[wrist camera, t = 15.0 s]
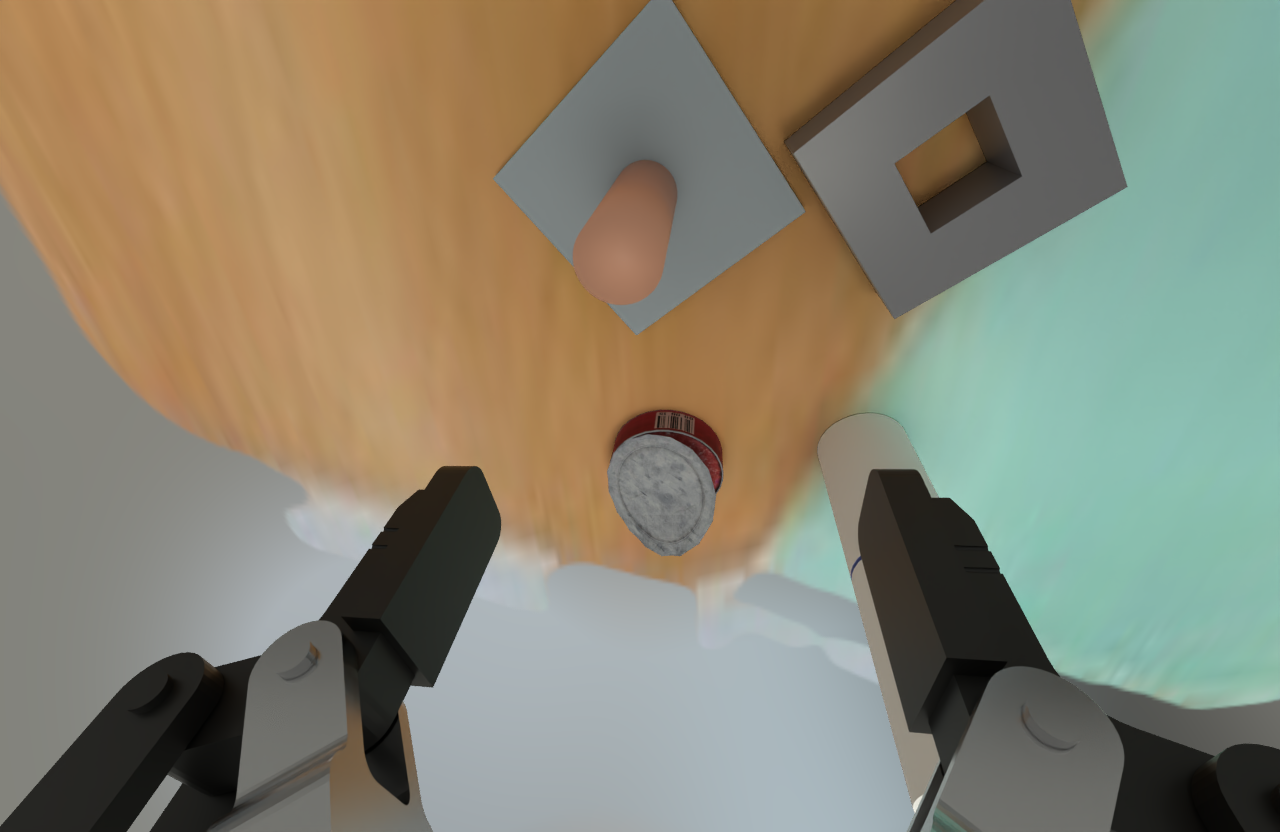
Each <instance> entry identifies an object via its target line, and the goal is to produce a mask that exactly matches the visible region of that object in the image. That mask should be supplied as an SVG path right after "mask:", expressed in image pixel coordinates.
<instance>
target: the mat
mask: <svg viewBox="0 0 1280 832" xmlns="http://www.w3.org/2000/svg"><path fill="white" fill-rule="evenodd" d="M639 160H651V161H655V162H658V163H660V164H661V165H663V166H664V167H665V168H666V169H668V171H669V172H670V173H671V175H672V176H673V178H674V180H675V183H676V186H677V203H676V208H675V213H674V218H673V223H672V228H671V233H670V239H669V244H668V249H667V254H666V259H665V264H664V269H663V274H662V277H661V279H660V282H659V284H658V285H657V287H656V288H655V289H654V291H653V292H652V293H651V294H650V295H648V296H647V297H646V298H644V299H643V300H641V301H639V302H636V303H633V304H628V305H614V304H609V303H607V304H608V305H609V306H610V307H611V308H612V309H613V310H614V311H615V313H616V314H617V315H618V316H619V317H620V318H621V319H622V320H623V321H624V322H625V323H626V325H627V326H628V327H629V328H630V329H631V330H632V331H633V332H634V333H635V334H636V335H638V334H639V333H640V332H642V331H643V330H645V329H646V328H647V327H649V326H650V325H651V324H653V323H654V322H656V321H657V320H658V319H660V318H661V317H662V316H664V315H665V314H666V313H668V312H669V311H671V310H672V309H673V308H675V307H676V306H677V305H679V304H680V303H681V302H683V301H684V300H686V299H687V298H688V297H690V296H691V295H692V294H694V293H695V292H697V291H698V290H699V289H701V288H702V287H703V286H705V285H706V284H707V283H709V282H710V281H712V280H713V279H714V278H716V277H717V276H718V275H720V274H721V273H723V272H724V271H725V270H727V269H728V268H729V267H731V266H732V265H733V264H735V263H736V262H738V261H739V260H740V259H742V258H743V257H744V256H746V255H747V254H748V253H750V252H751V251H753V250H754V249H755V248H757V247H758V246H759V245H761V244H762V243H764V242H765V241H766V240H768V239H769V238H770V237H772V236H773V235H774V234H776V233H777V232H779V231H780V230H781V229H783V228H784V227H785V226H787V225H788V224H790V223H791V222H792V221H794V220H795V219H796V218H798V217H799V216H800V215H802V214H803V213H805V212H806V211H805V210H804V208H803V206H802V205H801V203H800V202H799V200H798V199H797V197H796V195H795V194H794V192H793V191H792V189H791V187H790V186H789V184H788V183H787V181H786V180H785V178H784V176H783V175H782V173H781V172H780V170H779V169H778V167H777V165H776V164H775V162H774V161H773V159H772V157H771V156H770V154H769V153H768V151H767V150H766V148H765V146H764V145H763V143H762V142H761V140H760V139H759V137H758V135H757V134H756V132H755V131H754V129H753V127H752V126H751V124H750V123H749V121H748V120H747V118H746V116H745V115H744V113H743V112H742V110H741V109H740V107H739V105H738V104H737V102H736V101H735V99H734V97H733V96H732V94H731V93H730V91H729V90H728V88H727V86H726V85H725V83H724V82H723V80H722V79H721V77H720V75H719V74H718V72H717V71H716V69H715V67H714V66H713V64H712V63H711V61H710V60H709V58H708V56H707V55H706V53H705V52H704V50H703V48H702V47H701V45H700V44H699V42H698V41H697V39H696V37H695V36H694V34H693V33H692V31H691V30H690V28H689V26H688V25H687V23H686V22H685V20H684V18H683V17H682V15H681V14H680V12H679V11H678V9H677V7H676V6H675V4H674V3H673V1H672V0H651V1H650V2H649V3H648V4H647V5H646V6H645V7H644V9H643V10H642V11H641V12H640V13H639V14H638V15H637V16H636V18H635V19H634V20H633V21H632V22H631V23H630V24H629V26H628V27H627V28H626V29H625V30H624V31H623V32H622V33H621V35H620V36H619V37H618V38H617V39H616V40H615V41H614V42H613V44H612V45H611V46H610V47H609V48H608V49H607V50H606V52H605V53H604V54H603V55H602V56H601V57H600V58H599V59H598V61H597V62H596V63H595V64H594V65H593V66H592V67H591V69H590V70H589V71H588V72H587V73H586V74H585V75H584V76H583V78H582V79H581V80H580V81H579V82H578V83H577V84H576V85H575V87H574V88H573V89H572V90H571V91H570V92H569V93H568V95H567V96H566V97H565V98H564V99H563V100H562V101H561V102H560V104H559V105H558V106H557V107H556V108H555V109H554V110H553V112H552V113H551V114H550V115H549V116H548V117H547V118H546V119H545V121H544V122H543V123H542V124H541V125H540V126H539V127H538V128H537V130H536V131H535V132H534V133H533V134H532V135H531V136H530V138H529V139H528V140H527V141H526V142H525V143H524V144H523V145H522V147H521V148H520V149H519V150H518V151H517V152H516V153H515V154H514V156H513V157H512V158H511V159H510V160H509V161H508V162H507V164H506V165H505V166H504V167H503V168H502V169H501V170H500V171H499V173H498V174H497V175H496V176H495V177H494V178H493V179H494V180H495V182H496V183H497V184H498V185H499V186H500V187H501V188H502V189H503V190H504V191H505V192H506V194H507V195H508V196H509V197H510V198H511V199H512V200H513V201H514V202H515V203H516V204H517V206H518V207H519V208H520V209H521V210H522V211H523V212H524V213H525V214H526V215H527V217H528V218H529V219H530V220H531V221H532V222H533V223H534V224H535V225H536V226H537V227H538V229H539V230H540V231H541V232H542V233H543V234H544V235H545V236H546V237H547V238H548V239H549V241H550V242H551V243H552V244H553V245H554V246H555V247H556V248H557V249H558V250H559V251H560V253H561V254H562V255H563V256H564V257H565V258H566V259H567V260H568V261H569V262H570V263H571V265H572V266H573V267H574V265H573V248H574V244H575V241H576V238H577V236H578V234H579V233H580V231H581V230H582V229H583V227H584V226H585V224H586V223H587V221H588V220H589V218H590V217H591V215H592V214H593V212H594V211H595V210H596V208H597V207H598V205H599V204H600V202H601V201H602V199H603V198H604V196H605V195H606V193H607V192H608V191H609V189H610V188H611V186H612V185H613V183H614V182H615V180H616V179H617V177H618V176H619V175H620V173H621V172H622V170H623V169H624V168H625V167H627V166H628V165H629V164H631V163H633V162H635V161H639Z"/></svg>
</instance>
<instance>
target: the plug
mask: <svg viewBox="0 0 1280 832" xmlns="http://www.w3.org/2000/svg"><path fill="white" fill-rule="evenodd" d="M676 203H677V186H676V183H675V180H674V178H673V176H672V175H671V173H670V172H669V171H668V169H666V168H665V167H664V166H663V165H661V164H660V163H658V162H655V161H651V160H639V161H635V162H633V163H631V164H629V165H628V166H627V167H625V168H624V169H623V170H622V172H621V173H620V175H619V176H618V177H617V179H616V180H615V182H614V183H613V185H612V186H611V188H610V189H609V191H608V192H607V193H606V195H605V196H604V198H603V199H602V201H601V202H600V204H599V205H598V207H597V208H596V210H595V211H594V212H593V214H592V215H591V217H590V218H589V220H588V221H587V223H586V224H585V226H584V227H583V229H582V230H581V231H580V233H579V234H578V236H577V238H576V241H575V244H574V248H573V265H574V269H575V272H576V275H577V277H578V279H579V281H580V282H581V284H582V285H583V287H584V288H585V289H586V290H587V291H588V292H589V293H590V294H591V295H593V296H594V297H596V298H597V299H599V300H601V301H603V302H606V303H609V304H614V305H628V304H633V303H636V302H639V301H641V300H643V299H644V298H646V297H647V296H648V295H650V294H651V293H652V292H653V291H654V289H655V288H656V287H657V285H658V284H659V282H660V279H661V277H662V274H663V269H664V264H665V259H666V254H667V249H668V244H669V239H670V233H671V228H672V223H673V218H674V213H675V208H676Z"/></svg>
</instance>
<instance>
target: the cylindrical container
mask: <svg viewBox="0 0 1280 832" xmlns="http://www.w3.org/2000/svg"><path fill="white" fill-rule="evenodd" d="M817 454H818V458H819V461H820V465H821V469H822V473H823V476H824V480H825V484H826V488H827V491H828V495H829V499H830V503H831V506H832V510H833V514H834V517H835V521H836V525H837V528H838V532H839V536H840V540H841V543H842V547H843V551H844V554H845V558H846V562H847V565H848V569H849V573H850V576H851V580H852V584H853V588H854V591H855V595H856V599H857V603H858V606H859V610H860V614H861V617H862V621H863V625H864V628H865V632H866V636H867V640H868V644H869V647H870V651H871V655H872V658H873V662H874V666H875V670H876V673H877V677H878V681H879V685H880V688H881V692H882V696H883V699H884V703H885V706H886V710H887V714H888V718H889V722H890V725H891V729H892V732H893V736H894V740H895V744H896V747H897V751H898V755H899V758H900V762H901V766H902V770H903V773H904V777H905V781H906V784H907V788H908V792H909V795H910V798H911V803H912V806H913V810H914V812H916V810H917V808H918V805H919V803H920V801H921V799H922V796H923V794H924V792H925V790H926V787H927V785H928V783H929V781H930V778H931V776H932V774H933V772H934V769H935V767H936V765H937V763H938V761H939V759H940V758H939V755H938V751H937V748H936V745H935V742H934V738H933V735H932V734H924V733H913V732H909V730H908V726H907V722H906V719H905V715H904V712H903V708H902V704H901V701H900V697H899V693H898V690H897V686H896V682H895V679H894V675H893V671H892V668H891V664H890V661H889V657H888V653H887V650H886V646H885V642H884V639H883V635H882V631H881V628H880V624H879V621H878V617H877V613H876V610H875V606H874V602H873V599H872V595H871V591H870V588H869V584H868V580H867V577H866V573H865V570H864V566H863V562H862V559H861V555H860V550H859V544H858V523H859V518H860V513H861V509H862V504H863V499H864V495H865V490H866V486H867V481H868V477H869V474H870V472H871V470H872V469H915V470H917V471H918V472H919V473H920V474H921V476H922V478H923V480H924V483H925V485H926V487H927V489H928V491H929V493H930V496H931V498H939V496H938V494H937V493H936V491H935V489H934V487H933V485H932V483H931V481H930V479H929V477H928V475H927V473H926V471H925V469H924V467H923V465H922V463H921V461H920V459H919V458H918V456H917V454H916V452H915V450H914V448H913V446H912V444H911V442H910V440H909V438H908V436H907V434H906V432H905V430H904V428H903V427H902V426H901V425H900V424H899V423H898V422H897V421H896V420H894V419H893V418H891V417H888V416H885V415H881V414H876V413H864V414H857V415H853V416H849V417H846V418H844V419H842V420H840V421H838V422H836V423H835V424H833V425H832V426H831V427H829V428H828V429H827V430H826V431H825V433H824V434H823V435H822V436H821V439H820V441H819V443H818V447H817Z"/></svg>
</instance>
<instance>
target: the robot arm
mask: <svg viewBox="0 0 1280 832" xmlns="http://www.w3.org/2000/svg"><path fill="white" fill-rule="evenodd" d="M500 532H501V517H500V513H499V510H498V508H497V506H496V503H495V501H494V498H493V496H492V494H491V491H490V489H489V486H488V484H487V482H486V479H485V477H484V474H483V472H482V471H481V469H480V468H479V467H477V466H443V467H441V468H440V469H438V470H437V472H436V473H435V475H434V476H433V478H432V479H431V481H430V482H429V484H428V485H427V487H426V488H425V490H418V491H417V492H415V493H414V494H413V495H412V496H411V497H410V498H408V499H407V500H406V501H405V502H404V503H402V504H401V505H400V506H399V507H398V508H397V509H396V511H395V512H394V514H393V515H392V517H391V518H390V519H389V521H388V522H387V524H386V525H385V527H384V531H383V532H380V534H379V535H378V537H377V538H376V540H375V541H374V542H373V544H372V549H369V550H368V551H367V553H366V554H365V555H364V557H363V558H362V560H361V561H360V563H359V564H358V566H357V567H356V569H355V570H354V571H353V573H352V574H351V576H350V577H349V579H348V580H347V581H346V583H345V584H344V586H343V587H342V589H341V590H340V592H339V593H338V594H337V596H336V597H335V599H334V600H333V602H332V603H331V605H330V606H329V607H328V609H327V610H326V612H325V613H324V614H323V616H322V617H321V618H320V619H319V620H318V621H312V622H308V623H305V624H302V625H300V626H298V627H296V628H294V629H292V630H290V631H288V632H287V633H285V634H284V635H282V636H281V637H280V638H279V639H277V640H276V641H275V642H274V643H273V644H272V645H270V646H269V648H268V649H267V650H266V651H265V652H264V653H263V654H262V655H260V656H257V657H253V658H249V659H245V660H242V661H237V662H233V663H230V664H226V665H222V666H218V667H213V666H212V665H211V664H209V663H208V662H207V661H205V660H204V659H203V658H202V657H201V656H199V655H198V654H195V653H189V652H187V653H179V654H175V655H172V656H169V657H166V658H164V659H162V660H160V661H158V662H156V663H154V664H153V665H151V666H149V667H147V668H146V669H145V670H143V671H142V672H140V673H139V674H138V675H136V676H135V677H134V678H132V679H131V680H130V681H129V682H128V683H127V684H126V685H125V686H123V687H122V689H121V690H120V691H119V692H118V693H117V694H116V695H115V696H114V697H113V698H112V699H111V701H110V702H109V703H108V704H107V705H106V706H105V707H104V709H103V710H102V711H101V712H100V713H99V714H98V716H97V717H96V718H95V719H94V720H93V721H92V722H91V724H90V725H89V726H88V727H87V728H86V729H85V730H84V731H83V733H82V734H81V735H80V736H79V737H78V738H77V740H76V741H75V742H74V743H73V744H72V745H71V746H70V747H69V749H68V750H67V751H66V752H65V753H64V754H63V755H62V757H61V758H60V759H59V760H58V761H57V762H56V763H55V765H54V766H53V767H52V768H51V769H50V770H49V771H48V773H47V774H46V775H45V776H44V777H43V778H42V779H41V781H40V782H39V783H38V784H37V785H36V786H35V787H34V788H33V790H32V791H31V792H30V793H29V794H28V795H27V796H26V798H25V799H24V800H23V801H22V802H21V803H20V805H19V806H18V807H17V808H16V809H15V810H14V811H13V813H12V814H11V815H10V816H9V817H8V818H7V819H6V820H5V822H4V823H3V824H2V825H1V826H0V832H127V830H128V829H129V828H130V826H131V825H132V823H133V822H134V820H135V819H136V818H137V816H138V815H139V813H140V812H141V811H142V809H143V808H144V806H145V805H146V804H147V802H148V801H149V799H150V798H151V797H152V795H153V793H154V792H155V791H156V789H157V788H158V787H159V785H160V784H161V782H162V781H163V780H164V778H165V777H166V775H169V776H171V777H173V778H174V779H176V780H178V781H180V782H182V785H181V786H180V788H179V789H178V791H177V792H176V794H175V795H174V797H173V798H172V800H171V801H170V803H169V804H168V806H167V807H166V808H165V810H164V811H163V813H162V814H161V816H160V817H159V819H158V820H157V822H156V823H155V825H154V826H153V828H152V829H151V831H150V832H433V831H432V828H431V826H430V825H429V823H428V821H427V818H426V816H425V813H424V810H423V807H422V802H421V797H420V790H419V784H418V777H417V771H416V765H415V758H414V752H413V746H412V740H411V734H410V728H409V721H408V715H407V709H406V706H405V704H404V702H403V700H404V698H405V696H406V694H407V692H408V690H409V687H410V685H412V686H423V687H433V686H434V684H435V682H436V680H437V677H438V675H439V673H440V671H441V668H442V666H443V664H444V661H445V659H446V657H447V655H448V653H449V650H450V648H451V646H452V643H453V641H454V639H455V637H456V634H457V632H458V630H459V628H460V626H461V623H462V621H463V619H464V617H465V614H466V612H467V610H468V608H469V605H470V603H471V601H472V599H473V596H474V594H475V592H476V590H477V587H478V585H479V583H480V581H481V578H482V576H483V574H484V572H485V570H486V567H487V565H488V563H489V561H490V558H491V556H492V554H493V552H494V549H495V547H496V545H497V543H498V540H499V537H500ZM858 544H859V550H860V555H861V559H862V562H863V566H864V570H865V573H866V577H867V580H868V584H869V588H870V591H871V595H872V599H873V602H874V606H875V610H876V613H877V617H878V621H879V624H880V628H881V631H882V635H883V639H884V642H885V646H886V650H887V653H888V657H889V661H890V664H891V668H892V671H893V675H894V679H895V682H896V686H897V690H898V693H899V697H900V701H901V704H902V708H903V712H904V715H905V719H906V722H907V726H908V730H909V732H913V733H924V734H932V735H933V738H934V742H935V745H936V748H937V751H938V755H939V758H940V759H939V761H938V763H937V765H936V767H935V769H934V772H933V774H932V776H931V778H930V781H929V783H928V785H927V787H926V790H925V792H924V794H923V796H922V799H921V801H920V803H919V805H918V808H917V810H916V812H915V814H914V817H913V819H912V821H911V823H910V826H909V828H908V830H907V832H1280V750H1279V749H1276V748H1272V747H1268V746H1263V745H1258V744H1239V745H1234V746H1231V747H1229V748H1227V749H1225V750H1224V751H1222V752H1221V753H1219V754H1218V755H1216V756H1213V755H1210V754H1207V753H1204V752H1201V751H1199V750H1196V749H1193V748H1190V747H1187V746H1184V745H1182V744H1179V743H1176V742H1173V741H1170V740H1167V739H1164V738H1161V737H1159V736H1156V735H1153V734H1151V733H1148V732H1145V731H1142V730H1139V729H1136V728H1134V727H1131V726H1129V725H1126V724H1124V723H1122V722H1119V721H1118V720H1116V719H1114V718H1112V717H1110V716H1108V715H1106V714H1105V712H1104V711H1103V710H1102V709H1101V708H1100V707H1099V706H1098V705H1097V704H1096V703H1095V702H1094V701H1093V700H1092V699H1091V698H1090V697H1089V696H1088V695H1087V694H1085V693H1084V692H1083V691H1081V690H1080V689H1079V688H1077V687H1076V686H1075V685H1073V684H1071V683H1070V682H1068V681H1066V680H1065V679H1063V678H1061V677H1060V676H1059V675H1058V673H1057V672H1056V671H1055V669H1054V668H1053V666H1052V665H1051V663H1050V661H1049V660H1048V658H1047V656H1046V654H1045V652H1044V650H1043V649H1042V647H1041V645H1040V643H1039V641H1038V639H1037V637H1036V635H1035V634H1034V632H1033V630H1032V628H1031V626H1030V624H1029V622H1028V620H1027V619H1026V617H1025V615H1024V613H1023V611H1022V609H1021V607H1020V605H1019V604H1018V602H1017V600H1016V598H1015V596H1014V594H1013V592H1012V590H1011V588H1010V587H1009V585H1008V583H1007V581H1006V579H1005V577H1004V575H1003V574H1000V571H999V569H1000V568H999V566H998V564H997V562H996V560H995V558H994V557H993V555H992V553H991V551H988V545H987V543H986V542H985V540H984V538H983V536H982V534H981V532H980V530H979V528H978V527H977V525H976V523H975V521H974V520H973V519H972V518H971V517H970V516H969V515H968V514H967V513H966V512H965V511H964V510H962V509H961V508H960V507H959V506H958V505H957V504H956V503H955V502H954V501H953V500H951V499H950V498H931V496H930V493H929V491H928V489H927V487H926V485H925V483H924V480H923V478H922V476H921V474H920V473H919V472H918V471H917V470H915V469H872V470H871V472H870V474H869V477H868V481H867V486H866V490H865V495H864V499H863V504H862V509H861V513H860V518H859V523H858Z"/></svg>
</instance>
